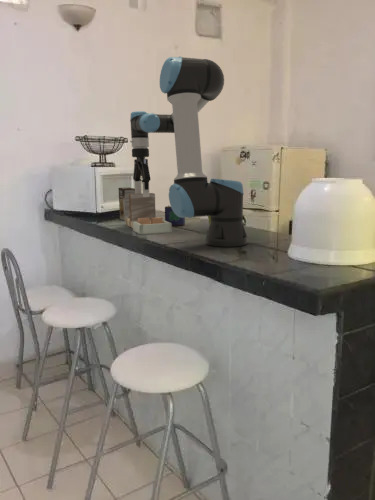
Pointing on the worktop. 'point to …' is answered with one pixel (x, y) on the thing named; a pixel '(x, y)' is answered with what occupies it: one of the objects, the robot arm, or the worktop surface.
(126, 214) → the coffee box
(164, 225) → the tray
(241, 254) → the worktop surface
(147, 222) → the tile
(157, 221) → the tile
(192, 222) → the worktop surface
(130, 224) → the board
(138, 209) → the tan block
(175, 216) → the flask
